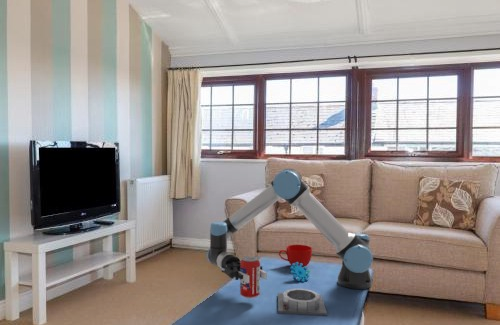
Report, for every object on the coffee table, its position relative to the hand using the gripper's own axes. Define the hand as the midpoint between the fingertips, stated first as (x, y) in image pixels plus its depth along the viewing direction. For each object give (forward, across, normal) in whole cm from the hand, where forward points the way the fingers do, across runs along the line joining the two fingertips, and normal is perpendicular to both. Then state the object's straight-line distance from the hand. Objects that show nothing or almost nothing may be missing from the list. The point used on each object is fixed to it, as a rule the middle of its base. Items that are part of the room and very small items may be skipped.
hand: (257, 277), depth 161 cm
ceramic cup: (-34, -45, -12) cm, 58 cm away
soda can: (-5, 0, -9) cm, 10 cm away
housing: (+7, -16, -12) cm, 21 cm away
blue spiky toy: (-18, -35, -12) cm, 41 cm away
